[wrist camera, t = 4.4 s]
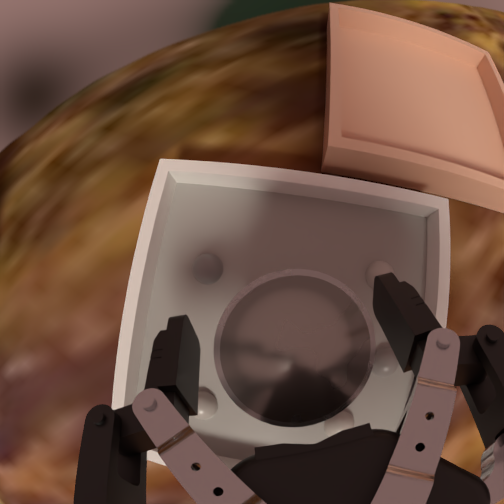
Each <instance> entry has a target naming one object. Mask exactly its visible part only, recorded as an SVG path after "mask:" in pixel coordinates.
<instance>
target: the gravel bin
mask: <svg viewBox="0 0 504 504" xmlns="http://www.w3.org/2000/svg"><path fill="white" fill-rule="evenodd" d="M286 269H308V270H313V271H318V272H321V273H324V274H327V275H330V276H332V277H333V278H335V279H337V280H339V281H341V282H342V283H343V284H345V285H346V286H348V287H349V288H350V289H351V290H352V291H353V292H354V293H355V294H356V295H357V296H358V298H359V299H360V300H361V301H362V303H363V304H364V306H365V308H366V309H367V311H368V313H369V316H370V318H371V321H372V324H373V327H374V332H375V339H376V352H375V360H374V364H373V368H372V371H371V374H370V376H369V379H368V381H367V383H366V385H365V386H364V388H363V390H362V391H361V392H360V394H359V395H358V397H357V398H356V399H355V400H354V401H353V402H352V403H351V404H350V405H349V406H348V407H346V408H345V409H344V410H343V411H342V412H340V413H338V414H337V415H335V416H334V417H332V418H330V419H328V420H325V421H323V422H320V423H317V424H314V425H309V426H304V427H281V426H276V425H271V424H268V423H265V422H262V421H260V420H258V419H256V418H254V417H252V416H250V415H249V414H247V413H246V412H244V411H243V410H242V409H241V408H239V407H238V406H237V405H236V404H235V403H234V402H233V401H232V399H231V398H230V397H229V396H228V394H227V393H226V391H225V390H224V388H223V386H222V384H221V382H220V380H219V378H218V374H217V371H216V368H215V362H214V349H213V348H214V338H215V333H216V329H217V326H218V323H219V320H220V318H221V316H222V314H223V312H224V310H225V308H226V307H227V306H228V304H229V303H230V301H231V300H232V299H233V298H234V297H235V296H236V295H237V293H238V292H239V291H241V290H242V289H243V288H244V287H245V286H247V285H248V284H250V283H251V282H253V281H254V280H256V279H258V278H260V277H262V276H264V275H266V274H270V273H273V272H276V271H281V270H286ZM390 272H392V273H393V274H394V275H395V276H396V278H397V279H398V281H399V282H402V281H406V282H407V283H409V284H410V285H412V286H413V287H414V288H415V289H416V290H417V292H418V293H419V295H420V297H422V299H423V300H424V302H425V304H427V306H428V307H429V309H430V310H431V312H432V313H433V315H434V316H435V318H436V319H437V320H438V322H439V323H440V325H441V326H442V328H446V323H447V313H448V301H449V285H450V217H449V201H448V199H446V198H442V197H438V196H434V195H429V194H425V193H421V192H416V191H412V190H407V189H403V188H398V187H393V186H388V185H383V184H378V183H372V182H367V181H362V180H356V179H350V178H344V177H338V176H332V175H325V174H319V173H312V172H305V171H297V170H290V169H282V168H273V167H264V166H255V165H245V164H234V163H223V162H210V161H195V160H177V159H160V161H159V164H158V167H157V171H156V174H155V177H154V181H153V184H152V187H151V191H150V194H149V198H148V202H147V205H146V209H145V213H144V217H143V221H142V225H141V229H140V233H139V237H138V241H137V245H136V250H135V254H134V259H133V263H132V268H131V273H130V278H129V283H128V288H127V294H126V299H125V305H124V311H123V317H122V323H121V329H120V336H119V343H118V351H117V359H116V367H115V377H114V387H113V399H112V409H113V410H116V409H119V408H122V407H125V406H128V405H130V404H132V403H133V401H134V399H135V397H136V396H137V395H138V394H139V393H140V392H142V391H143V390H144V388H145V383H146V377H147V372H148V367H149V361H150V360H151V359H150V356H151V352H152V346H153V342H154V339H155V338H156V336H157V334H158V333H159V331H161V330H166V329H167V323H168V319H169V317H173V316H179V315H185V314H186V315H187V316H188V317H189V319H190V322H191V324H192V326H193V328H194V330H195V333H196V335H197V337H198V339H199V343H200V350H201V353H200V372H199V393H198V415H196V416H189V425H190V427H191V428H192V429H193V430H194V431H195V432H196V434H197V435H198V436H199V437H200V438H201V439H202V440H203V441H204V443H205V444H206V445H207V446H208V447H209V448H210V449H211V450H212V451H213V452H214V453H215V454H216V456H217V457H218V458H219V459H220V460H221V461H222V462H223V463H224V464H225V465H226V466H227V467H228V468H229V469H230V470H231V469H232V468H233V467H234V466H235V465H236V464H237V463H239V462H240V461H242V460H243V459H245V458H247V457H249V456H251V455H254V454H255V448H254V447H262V446H269V445H275V444H281V443H289V444H315V443H318V442H320V441H322V440H324V439H326V438H328V437H330V436H332V435H334V434H336V433H338V432H340V431H342V430H346V429H349V428H353V427H357V426H360V425H363V424H367V423H370V426H371V429H384V430H390V431H393V432H395V429H396V427H397V425H398V422H399V420H400V417H401V415H402V412H403V409H404V406H405V403H406V400H407V397H408V394H409V391H410V387H411V384H412V381H413V377H414V373H413V371H412V370H411V371H408V372H405V373H403V371H402V369H401V367H400V364H399V362H398V360H397V358H396V356H395V354H394V352H393V350H392V348H391V346H390V344H389V342H388V340H387V338H386V336H385V334H384V332H383V330H382V328H381V326H380V324H379V322H378V321H377V319H376V317H375V314H374V311H373V304H372V303H373V290H374V278H375V276H378V275H382V274H386V273H390ZM157 451H158V449H157V448H155V449H152V450H149V451H147V460H150V461H152V462H155V463H159V464H162V465H165V466H166V464H165V463H164V461H163V460H162V459H161V457H160V456H159V454H158V452H157Z"/></svg>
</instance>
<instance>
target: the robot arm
mask: <svg viewBox="0 0 504 504" xmlns="http://www.w3.org/2000/svg"><path fill="white" fill-rule="evenodd" d="M372 304H373V311H374V314H375V317H376V319H377V321H378V322H379V324H380V326H381V328H382V330H383V332H384V334H385V336H386V338H387V340H388V342H389V344H390V346H391V348H392V350H393V352H394V354H395V356H396V358H397V360H398V362H399V364H400V367H401V369H402V371H403V373H405V372H408V371H411V370H412V371H413V373H414V377H413V381H412V384H411V387H410V391H409V394H408V397H407V400H406V403H405V406H404V409H403V412H402V415H401V417H400V420H399V422H398V425H397V427H396V429H395V432H393V431H390V430H384V429H371V426H370V423H367V424H363V425H360V426H357V427H353V428H349V429H346V430H342V431H340V432H338V433H336V434H334V435H332V436H330V437H328V438H326V439H324V440H322V441H320V442H318V443H315V444H289V443H281V444H275V445H269V446H262V447H254V448H255V454H254V455H251V456H249V457H247V458H245V459H243V460H242V461H240V462H239V463H237V464H236V465H235V466H234V467H233V468H232V469H231V470H230V469H229V468H228V467H227V466H226V465H225V464H224V463H223V462H222V461H221V460H220V459H219V458H218V457H217V456H216V454H215V453H214V452H213V451H212V450H211V449H210V448H209V447H208V446H207V445H206V444H205V443H204V441H203V440H202V439H201V438H200V437H199V436H198V435H197V434H196V432H195V431H194V430H193V429H192V428H191V427H190V425H189V416H196V415H198V393H199V372H200V353H201V350H200V343H199V339H198V337H197V335H196V333H195V330H194V328H193V326H192V324H191V322H190V319H189V317H188V316H187V315H186V314H185V315H179V316H173V317H169V319H168V323H167V329H166V330H161V331H159V333H158V334H157V336H156V338H155V339H154V342H153V346H152V352H151V356H150V359H151V360H150V361H149V367H148V372H147V377H146V383H145V388H144V390H143V391H142V392H140V393H139V394H138V395H137V396H136V397H135V399H134V401H133V403H132V404H130V405H128V406H125V407H122V408H119V409H116V410H113V409H112V408H111V407H109V406H108V405H103V404H102V405H97V406H95V407H93V408H92V409H91V410H90V411H89V412H88V414H87V416H86V419H85V424H84V430H83V435H82V441H81V447H80V454H79V460H78V468H77V475H76V484H75V493H74V504H146V468H147V451H149V450H152V449H155V448H157V449H158V451H157V452H158V454H159V456H160V457H161V459H162V460H163V461H164V463H165V464H166V466H167V467H168V468H169V470H170V471H171V472H172V473H173V475H174V476H175V477H176V479H177V480H178V481H179V482H180V484H181V485H182V486H183V487H184V489H185V490H186V491H187V492H188V493H189V495H190V496H191V497H192V498H193V499H194V500H195V502H196V503H197V504H495V503H497V502H498V501H500V500H502V499H503V498H504V333H503V331H502V330H501V329H500V328H498V327H496V326H494V325H485V326H482V327H481V328H480V329H479V331H478V333H477V335H472V336H458V335H457V334H456V333H455V332H454V331H452V330H450V329H447V328H442V326H441V325H440V323H439V322H438V320H437V319H436V318H435V316H434V315H433V313H432V312H431V310H430V309H429V307H428V306H427V304H425V302H424V300H423V299H422V297H420V295H419V293H418V292H417V290H416V289H415V288H414V287H413V286H412V285H410V284H409V283H407V282H406V281H402V282H399V281H398V279H397V278H396V276H395V275H394V274H393V273H392V272H390V273H386V274H382V275H378V276H375V278H374V290H373V303H372ZM454 386H460V388H461V390H462V392H463V394H464V397H465V399H466V401H467V404H468V406H469V408H470V411H471V413H472V415H473V418H474V420H475V423H476V425H477V428H478V430H479V433H480V435H481V438H482V441H483V443H484V446H485V451H484V452H483V454H482V458H481V470H482V474H481V477H480V478H479V477H478V476H476V475H474V474H472V473H470V472H468V471H466V470H464V469H462V468H460V467H458V466H456V465H454V464H453V463H451V462H449V461H447V460H445V459H443V458H441V457H440V456H441V453H442V449H443V446H444V443H445V439H446V435H447V432H448V428H449V424H450V420H451V416H452V411H453V407H454V402H455V397H456V387H454Z"/></svg>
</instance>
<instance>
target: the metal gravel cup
mask: <svg viewBox="0 0 504 504" xmlns="http://www.w3.org/2000/svg"><path fill="white" fill-rule="evenodd" d="M213 349H214V362H215V368H216V371H217V374H218V378H219V380H220V382H221V384H222V386H223V388H224V390H225V391H226V393H227V394H228V396H229V397H230V398H231V399H232V401H233V402H234V403H235V404H236V405H237V406H238V407H239V408H241V409H242V410H243V411H244V412H246V413H247V414H249V415H250V416H252V417H254V418H256V419H258V420H260V421H262V422H265V423H268V424H271V425H276V426H281V427H304V426H309V425H314V424H317V423H320V422H323V421H325V420H328V419H330V418H332V417H334V416H335V415H337V414H338V413H340V412H342V411H343V410H344V409H345V408H346V407H348V406H349V405H350V404H351V403H352V402H353V401H354V400H355V399H356V398H357V397H358V395H359V394H360V392H361V391H362V390H363V388H364V386H365V385H366V383H367V381H368V379H369V376H370V374H371V371H372V368H373V364H374V360H375V352H376V339H375V332H374V327H373V324H372V321H371V318H370V316H369V313H368V311H367V309H366V308H365V306H364V304H363V303H362V301H361V300H360V299H359V298H358V296H357V295H356V294H355V293H354V292H353V291H352V290H351V289H350V288H349V287H348V286H346V285H345V284H343V283H342V282H341V281H339V280H337V279H335V278H333V277H332V276H330V275H327V274H324V273H321V272H318V271H313V270H308V269H286V270H281V271H276V272H273V273H270V274H266V275H264V276H262V277H260V278H258V279H256V280H254V281H253V282H251V283H250V284H248V285H247V286H245V287H244V288H243V289H242V290H241V291H239V292H238V293H237V295H236V296H235V297H234V298H233V299H232V300H231V301H230V303H229V304H228V306H227V307H226V308H225V310H224V312H223V314H222V316H221V318H220V320H219V323H218V326H217V329H216V333H215V338H214V348H213Z"/></svg>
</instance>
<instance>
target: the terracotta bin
mask: <svg viewBox="0 0 504 504" xmlns="http://www.w3.org/2000/svg"><path fill="white" fill-rule="evenodd" d="M321 172H323V173H329V174H336V175H342V176H348V177H354V178H359V179H365V180H370V181H376V182H381V183H386V184H391V185H396V186H400V187H405V188H410V189H414V190H419V191H423V192H427V193H432V194H436V195H440V196H444V197H448V198H452V199H456V200H460V201H463V202H467V203H471V204H474V205H478V206H481V207H485V208H488V209H492V210H495V211H498V212H501V213H504V83H503V81H502V79H501V77H500V75H499V72H498V70H497V68H496V66H495V64H494V62H493V60H492V58H491V56H490V54H489V52H487V51H485V50H483V49H481V48H479V47H477V46H474V45H472V44H470V43H468V42H466V41H463V40H461V39H459V38H456V37H454V36H451V35H449V34H446V33H444V32H441V31H438V30H436V29H433V28H430V27H427V26H424V25H421V24H418V23H415V22H412V21H409V20H406V19H402V18H399V17H395V16H391V15H388V14H384V13H380V12H375V11H371V10H367V9H362V8H357V7H352V6H346V5H341V4H334V3H330V4H329V13H328V22H327V65H326V98H325V120H324V137H323V152H322V166H321Z"/></svg>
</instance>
